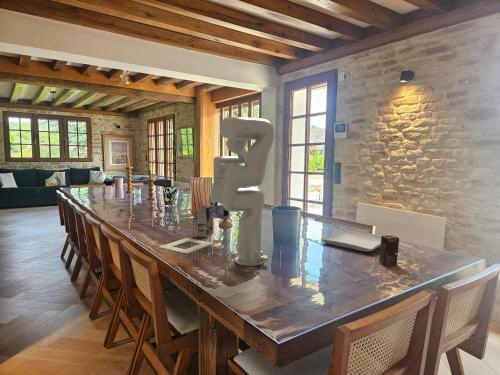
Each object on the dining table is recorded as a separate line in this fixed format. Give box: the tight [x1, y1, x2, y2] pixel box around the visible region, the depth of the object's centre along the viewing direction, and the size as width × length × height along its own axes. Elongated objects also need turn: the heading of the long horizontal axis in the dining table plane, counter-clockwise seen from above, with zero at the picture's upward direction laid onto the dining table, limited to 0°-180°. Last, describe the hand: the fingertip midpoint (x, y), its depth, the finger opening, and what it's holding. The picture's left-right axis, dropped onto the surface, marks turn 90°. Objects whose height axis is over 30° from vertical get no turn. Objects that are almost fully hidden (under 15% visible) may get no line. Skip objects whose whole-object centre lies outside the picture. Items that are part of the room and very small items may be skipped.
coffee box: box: [196, 205, 215, 238], centre depth 183 cm, size 9×6×16 cm
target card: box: [158, 237, 215, 255], centre depth 162 cm, size 18×20×1 cm
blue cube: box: [213, 204, 230, 220], centre depth 170 cm, size 6×6×6 cm
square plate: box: [320, 230, 382, 253], centre depth 170 cm, size 27×27×4 cm
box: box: [378, 235, 400, 266], centre depth 139 cm, size 6×4×12 cm
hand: (220, 215), depth 171 cm, fingers closed on blue cube, 6 cm apart
